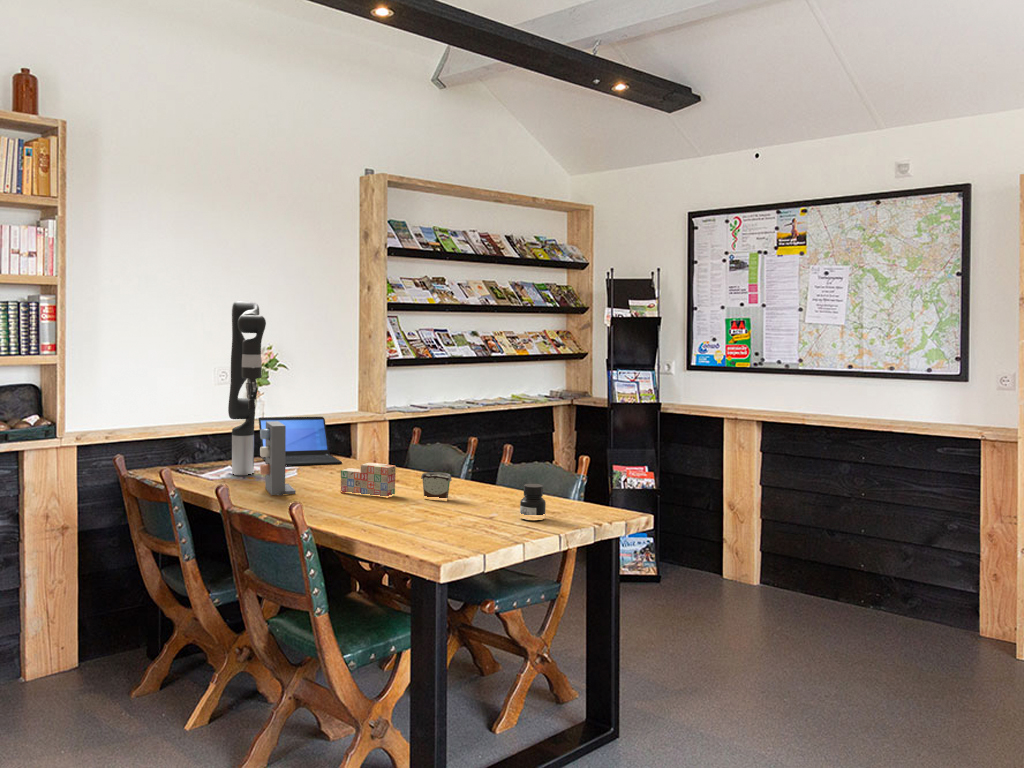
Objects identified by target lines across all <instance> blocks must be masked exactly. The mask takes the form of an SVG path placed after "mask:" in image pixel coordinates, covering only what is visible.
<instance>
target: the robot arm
mask: <svg viewBox="0 0 1024 768" xmlns="http://www.w3.org/2000/svg"><path fill="white" fill-rule="evenodd" d="M266 326H267V321H266V318H265V317H264V316H263V315H260V307H259V305H258V303H256V302H253V301H240V300H239V301H238V300H237V301H234V302H233V303H232V306H231V335H232V336H231V337H232V340H231V353H230V386H229V388H230V389H229V395H228V407H227V408H228V409H227V410H228V411H227V412H228V416H229V419H231V420H245V421H244V422H243V423H241V425H237V426H234V427H233V428H232V430H231V474H232V475H233V474H234V475H233V476H249V475H248V474H251V475H253V474H252V473H254V474H255V420H256V419H255V415H256V400H257V395H258V389H259V388H258V384H259V383H258V382H257V379H261V378H262V376H263V375H262V365H263V364H262V363H263V361H262V341H263V337H264V333H265V329H266ZM244 334H255V336H254V337H251V338H248V339H246V338H245V336H244ZM246 380H247V382H246ZM244 383H245V391H246V397H239V395H240V392H241V388H243V385H244Z"/></svg>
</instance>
